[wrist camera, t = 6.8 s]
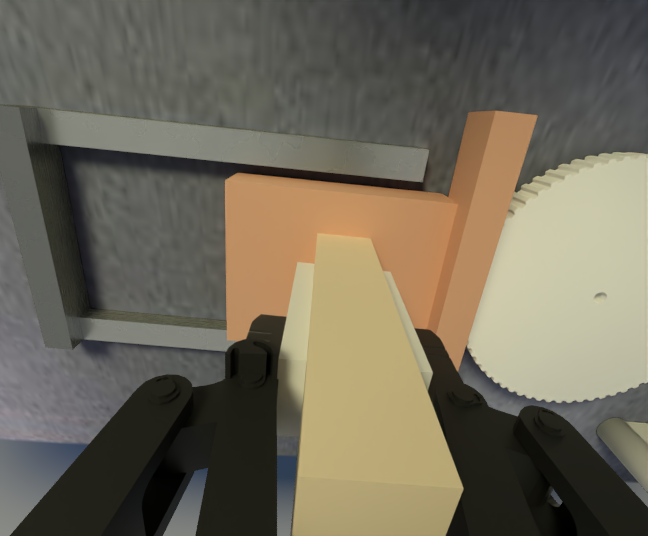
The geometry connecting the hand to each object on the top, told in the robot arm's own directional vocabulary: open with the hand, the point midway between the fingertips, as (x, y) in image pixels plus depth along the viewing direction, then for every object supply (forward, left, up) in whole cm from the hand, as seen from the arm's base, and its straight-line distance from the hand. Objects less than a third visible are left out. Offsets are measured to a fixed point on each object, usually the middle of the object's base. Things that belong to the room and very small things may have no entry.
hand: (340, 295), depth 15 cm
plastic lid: (+12, +6, -5) cm, 14 cm away
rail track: (-5, -3, -5) cm, 8 cm away
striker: (0, 0, -4) cm, 4 cm away
